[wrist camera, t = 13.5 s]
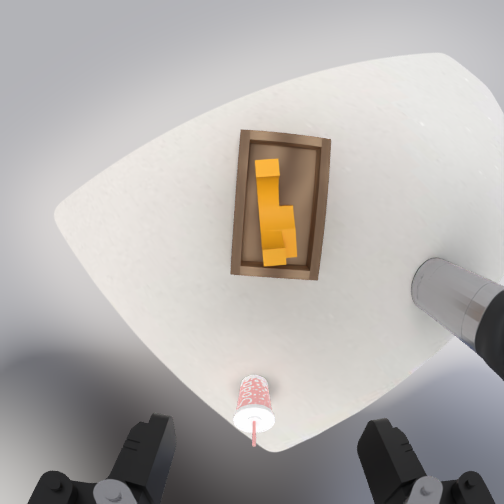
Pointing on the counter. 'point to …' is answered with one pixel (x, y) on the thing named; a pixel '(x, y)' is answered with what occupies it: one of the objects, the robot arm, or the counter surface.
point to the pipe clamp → (274, 216)
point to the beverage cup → (254, 407)
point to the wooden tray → (282, 201)
